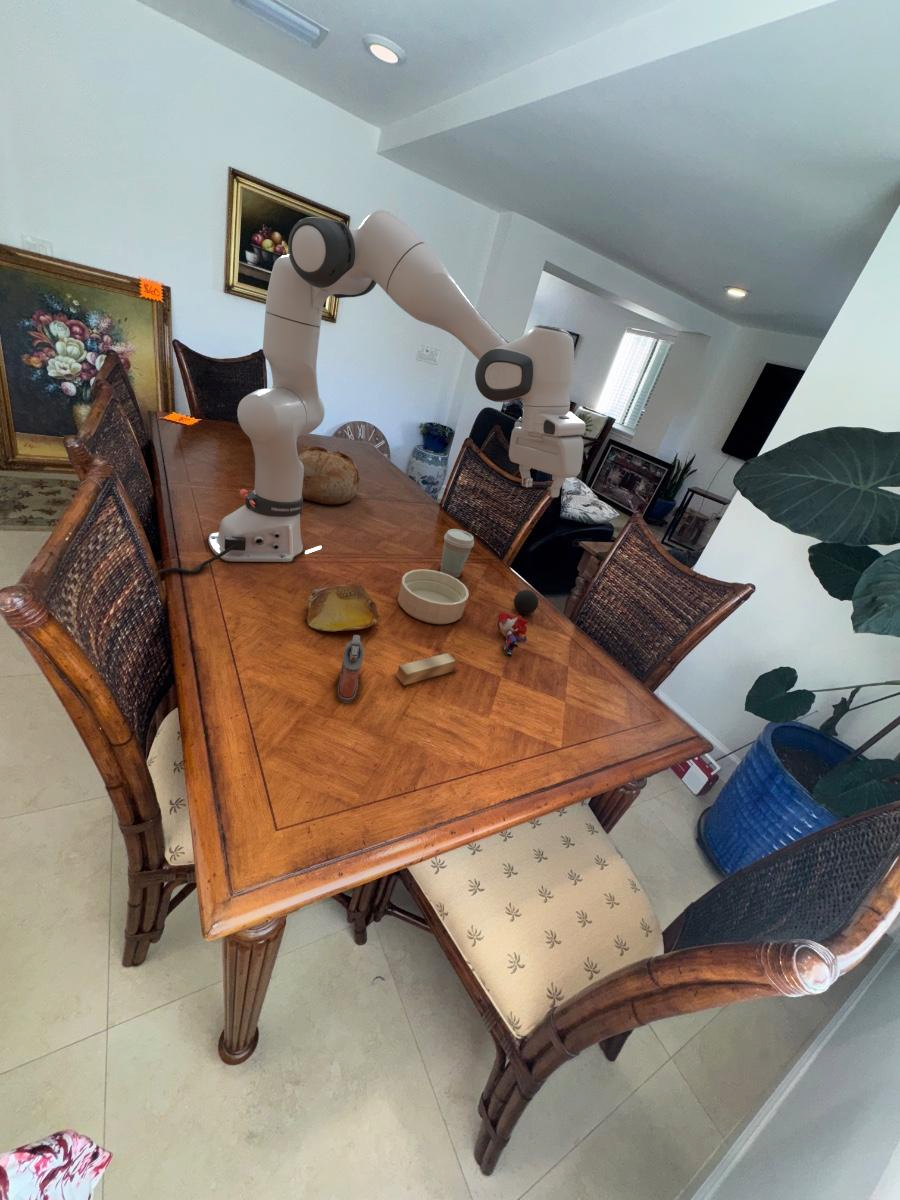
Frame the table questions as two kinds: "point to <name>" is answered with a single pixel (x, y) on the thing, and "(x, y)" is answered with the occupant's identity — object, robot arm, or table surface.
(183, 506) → the table surface
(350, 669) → the lighter
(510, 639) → the figurine
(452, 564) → the coffee cup
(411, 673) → the stick
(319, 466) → the bread
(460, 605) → the bowl
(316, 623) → the brown yellow irregular block
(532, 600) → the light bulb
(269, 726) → the table surface
